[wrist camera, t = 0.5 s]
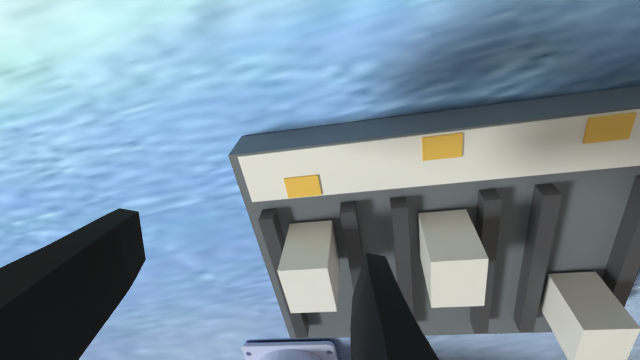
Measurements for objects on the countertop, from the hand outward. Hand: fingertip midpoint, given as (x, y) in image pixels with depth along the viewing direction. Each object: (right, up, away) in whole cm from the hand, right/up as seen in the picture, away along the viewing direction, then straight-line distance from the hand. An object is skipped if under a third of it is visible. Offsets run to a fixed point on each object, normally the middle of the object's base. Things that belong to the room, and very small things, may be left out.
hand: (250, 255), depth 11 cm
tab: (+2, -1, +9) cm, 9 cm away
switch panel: (+9, 0, +11) cm, 14 cm away
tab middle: (+9, 0, +8) cm, 12 cm away
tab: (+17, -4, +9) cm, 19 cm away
